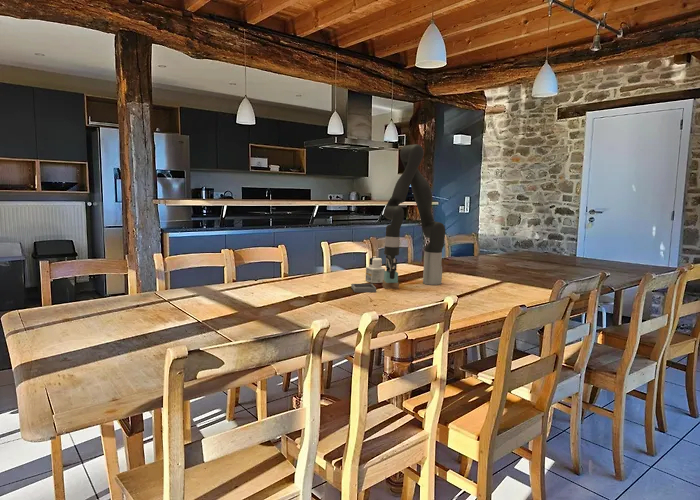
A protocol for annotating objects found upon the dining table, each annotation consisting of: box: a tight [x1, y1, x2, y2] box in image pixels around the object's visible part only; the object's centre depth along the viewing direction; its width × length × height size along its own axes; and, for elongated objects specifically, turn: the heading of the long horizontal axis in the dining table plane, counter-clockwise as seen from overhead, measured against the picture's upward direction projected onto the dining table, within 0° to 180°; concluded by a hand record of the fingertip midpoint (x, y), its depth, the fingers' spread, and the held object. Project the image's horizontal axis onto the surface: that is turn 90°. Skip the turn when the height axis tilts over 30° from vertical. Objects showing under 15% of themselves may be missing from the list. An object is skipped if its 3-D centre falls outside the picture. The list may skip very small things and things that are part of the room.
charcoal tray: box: [350, 283, 377, 293], centre depth 237 cm, size 11×11×2 cm
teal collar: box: [384, 270, 399, 283], centre depth 244 cm, size 6×6×5 cm
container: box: [365, 256, 386, 284], centre depth 257 cm, size 8×8×13 cm
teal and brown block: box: [381, 270, 400, 290], centre depth 244 cm, size 7×7×9 cm
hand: (390, 277), depth 244 cm, fingers open, 8 cm apart
